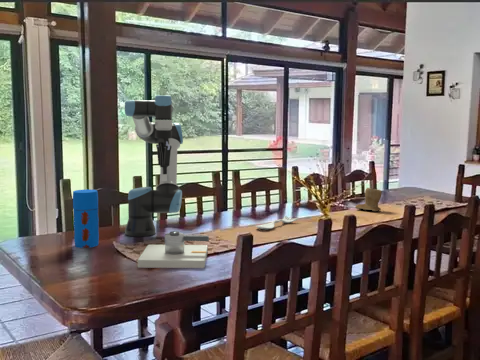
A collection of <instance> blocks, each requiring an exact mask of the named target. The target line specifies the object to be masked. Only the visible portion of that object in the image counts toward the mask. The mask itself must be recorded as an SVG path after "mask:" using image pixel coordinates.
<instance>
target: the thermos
mask: <svg viewBox="0 0 480 360" xmlns="http://www.w3.org/2000/svg"><path fill="white" fill-rule="evenodd" d="M72 213H73V214H72V215H73V238H74V239H73V240H74V247H75V248H79V249H89V248H94V247H95V248H96V247H97V246H99V242H100V228H99V227H100V223H99V222H100V221H99V220H100V219H99V218H100V217H99V192H98V190H97V189H76V190H73V191H72Z"/></svg>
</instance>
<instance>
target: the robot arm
mask: <svg viewBox="0 0 480 360" xmlns="http://www.w3.org/2000/svg"><path fill="white" fill-rule="evenodd" d="M172 99H173V98H172V96H171V95H168V94H166V95H165V94H164V95H163V94H162V95H161V94H160V95H159V94H158V95H155V96H154V100H145V99H143V100H141V99H131V100H129V99H128V100H126V101H124V114H125V116H126V117H131V118H132V120H133V122H134V125H135V127H134V130H135V133H136V135H137V137H138V138H139V139H140V140H142V141H144V142H146V143H149V144H155V146H156V156H157V162H158V163H157V164H158V166H159V167H160V168H159V169H160V170H159V172H160V173H159V174H160V175H159V184H158V185H157V186H156V189H153V187H151V186H142V187H137V188H132V189H130V190H129V191H128V195H127V196H128V197H127V201H128V202H127V203H128V204H127V205H128V206H127V208H128V212H127V213H128V218H127V219H128V220H127V223H126V225H125V226H126V227H125V228H124V234H125V236H129V237H136V238H137V237H149V236H153V235H155V234H156V233H157V232H156V231H157V230H156V225H155V222H154V220H153V214H172V213H173V214H174V213H175V214H177V213H179V212H180V210H181V206H182V200H183V191H182V190H181V189H180V186H179V185H178V184H177V183H178V182H177V179H178V149H180V147H181V145H183V143H184V137H183V130H182V129H183V128H182V125H181V123H178V122H173V120H172V117H173V116H172V115H173V111H174V108H173V101H172ZM149 117H154V122H152V121H150V118H149Z"/></svg>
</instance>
